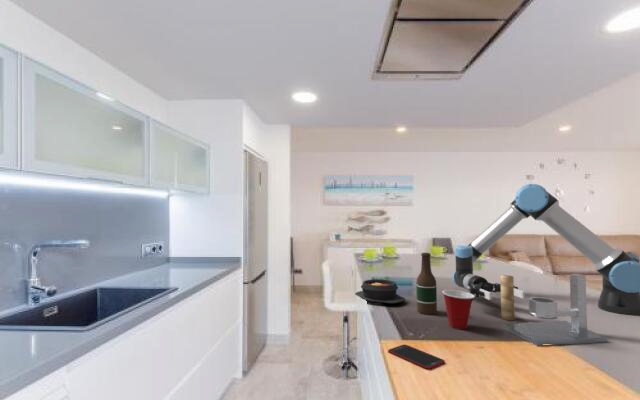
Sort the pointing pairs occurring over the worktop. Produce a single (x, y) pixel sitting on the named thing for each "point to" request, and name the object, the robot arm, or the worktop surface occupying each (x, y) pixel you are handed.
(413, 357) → the cell phone
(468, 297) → the plastic cup
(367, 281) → the casserole
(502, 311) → the brown wooden cylinder
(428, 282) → the beer bottle
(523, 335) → the cup bracket
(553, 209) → the robot arm
